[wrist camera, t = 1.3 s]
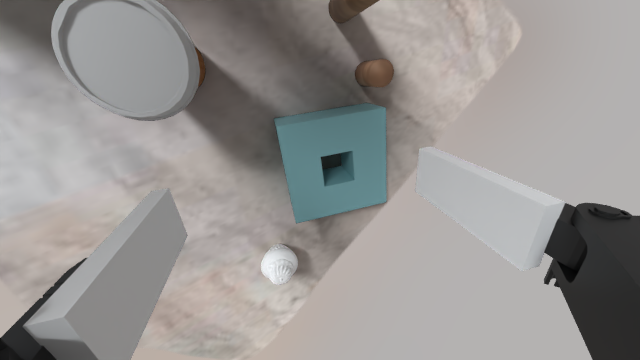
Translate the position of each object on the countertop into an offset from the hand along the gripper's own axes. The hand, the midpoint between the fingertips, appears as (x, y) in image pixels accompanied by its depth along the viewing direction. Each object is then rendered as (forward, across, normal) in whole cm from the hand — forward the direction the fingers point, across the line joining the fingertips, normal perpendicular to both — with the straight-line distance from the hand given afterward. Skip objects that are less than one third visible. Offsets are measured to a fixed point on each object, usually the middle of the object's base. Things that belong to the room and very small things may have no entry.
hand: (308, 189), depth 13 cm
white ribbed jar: (+24, -4, -23) cm, 33 cm away
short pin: (+23, +13, +5) cm, 27 cm away
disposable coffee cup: (+24, -11, +8) cm, 27 cm away
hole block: (+23, +7, -6) cm, 25 cm away
